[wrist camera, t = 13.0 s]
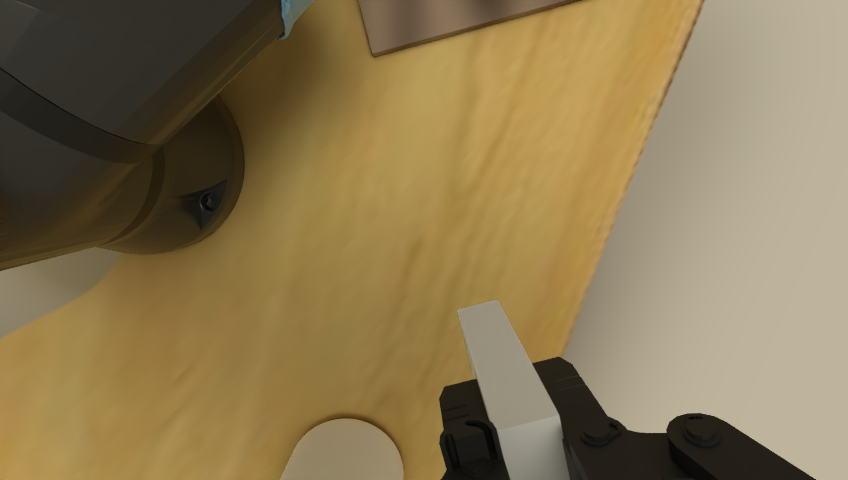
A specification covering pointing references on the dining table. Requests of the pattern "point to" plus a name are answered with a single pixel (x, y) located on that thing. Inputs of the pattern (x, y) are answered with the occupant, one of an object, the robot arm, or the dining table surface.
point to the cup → (344, 453)
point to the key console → (438, 19)
